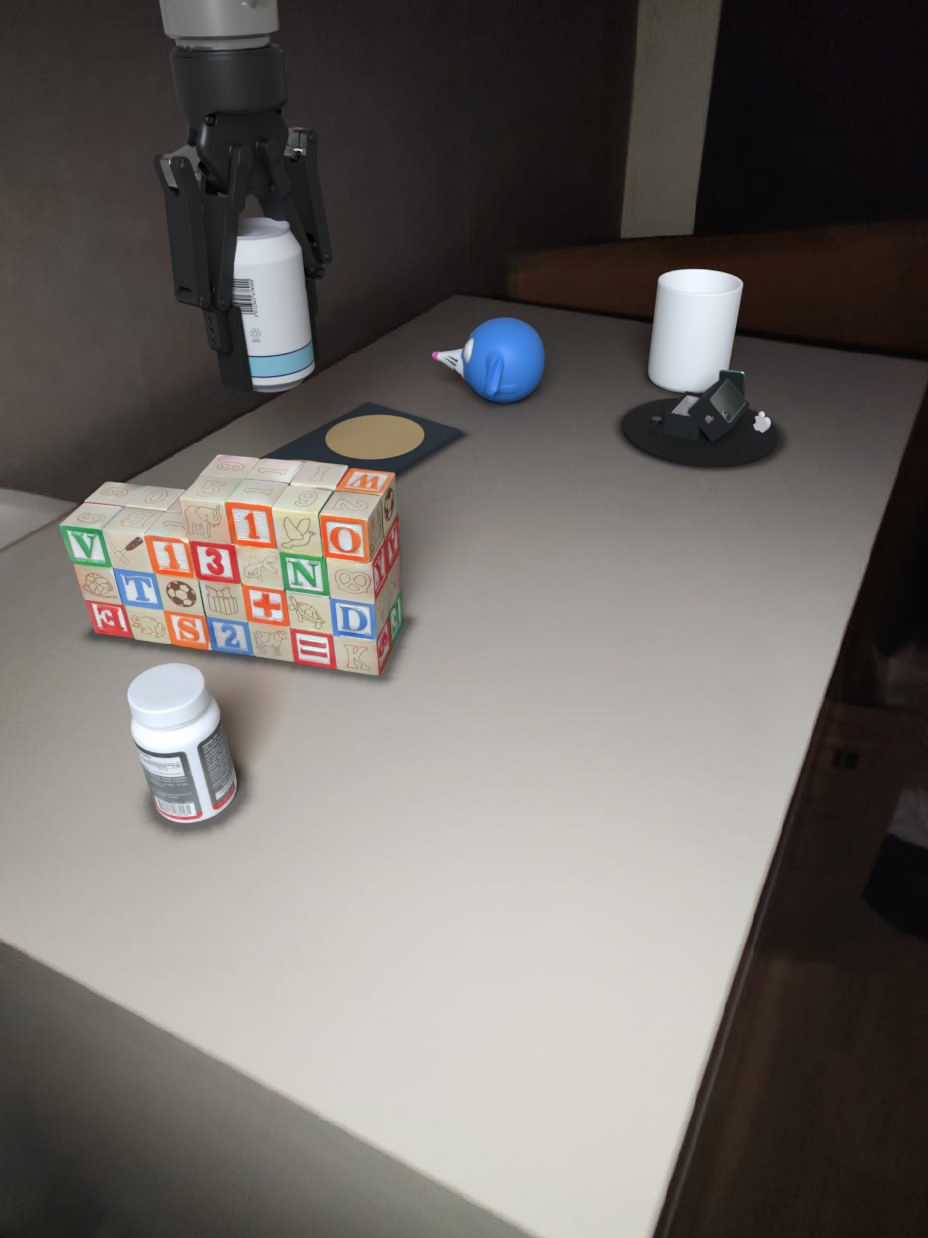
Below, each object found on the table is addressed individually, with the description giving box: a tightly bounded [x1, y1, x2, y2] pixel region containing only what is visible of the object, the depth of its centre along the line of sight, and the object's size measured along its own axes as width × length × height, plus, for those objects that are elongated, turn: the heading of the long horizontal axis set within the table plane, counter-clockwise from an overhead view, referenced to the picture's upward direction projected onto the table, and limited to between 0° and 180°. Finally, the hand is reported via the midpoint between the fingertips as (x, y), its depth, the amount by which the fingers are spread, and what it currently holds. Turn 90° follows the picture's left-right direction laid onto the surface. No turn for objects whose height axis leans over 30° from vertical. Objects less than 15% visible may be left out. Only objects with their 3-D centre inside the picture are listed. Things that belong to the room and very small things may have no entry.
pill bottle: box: [126, 662, 238, 824], centre depth 50 cm, size 5×5×8 cm
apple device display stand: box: [622, 369, 779, 468], centre depth 89 cm, size 15×15×6 cm
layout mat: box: [259, 401, 462, 477], centre depth 85 cm, size 12×24×1 cm, turn 144°
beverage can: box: [230, 217, 316, 393], centre depth 72 cm, size 7×7×12 cm
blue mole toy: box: [431, 316, 546, 404], centre depth 95 cm, size 12×12×8 cm
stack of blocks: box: [59, 453, 403, 676], centre depth 62 cm, size 21×6×12 cm, turn 78°
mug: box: [647, 268, 744, 394], centre depth 99 cm, size 9×12×11 cm
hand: (272, 371), depth 75 cm, fingers closed on beverage can, 7 cm apart
